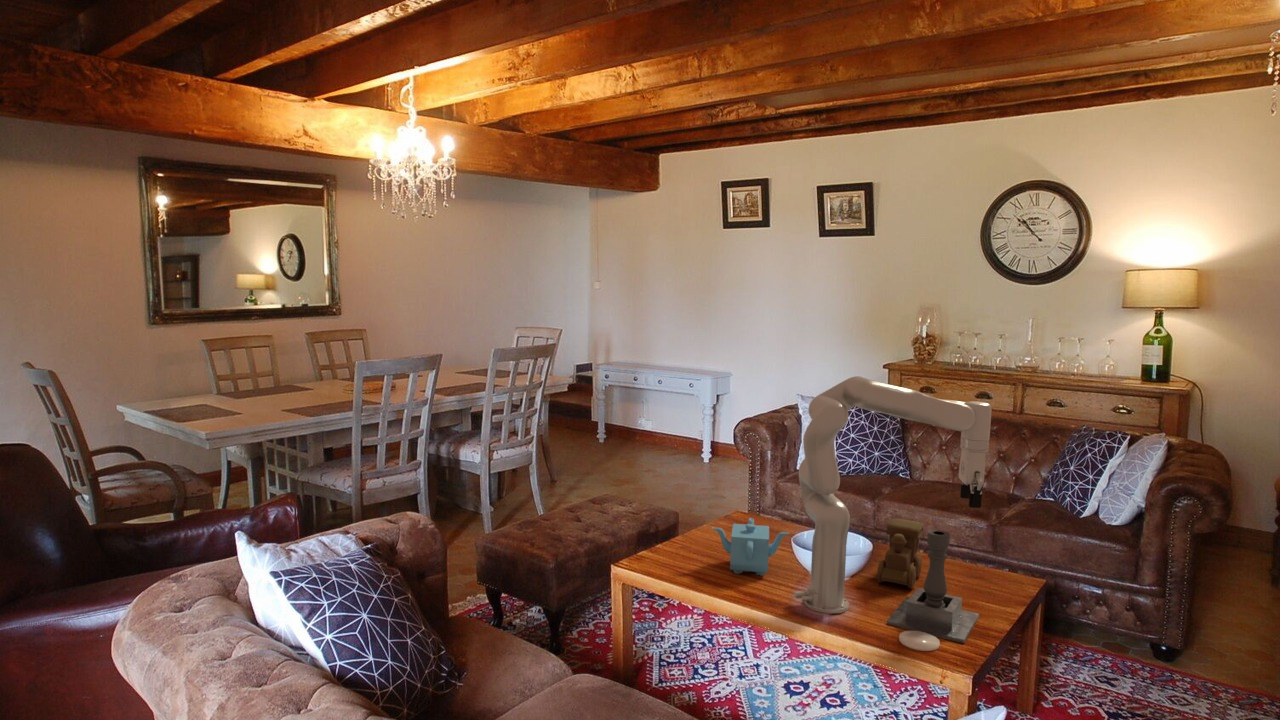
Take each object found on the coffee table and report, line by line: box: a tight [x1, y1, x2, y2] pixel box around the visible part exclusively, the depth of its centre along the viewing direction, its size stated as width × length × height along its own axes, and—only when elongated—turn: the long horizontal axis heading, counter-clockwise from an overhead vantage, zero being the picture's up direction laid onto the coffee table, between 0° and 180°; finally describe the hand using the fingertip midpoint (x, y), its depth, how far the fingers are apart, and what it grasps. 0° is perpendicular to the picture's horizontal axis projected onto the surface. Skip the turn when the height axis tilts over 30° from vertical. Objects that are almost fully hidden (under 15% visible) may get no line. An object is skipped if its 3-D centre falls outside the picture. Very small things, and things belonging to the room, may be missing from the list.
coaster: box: [898, 630, 941, 652], centre depth 205 cm, size 10×10×1 cm
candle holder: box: [923, 529, 951, 608], centre depth 217 cm, size 6×6×25 cm
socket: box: [886, 587, 980, 644], centre depth 218 cm, size 20×20×6 cm
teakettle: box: [711, 517, 790, 576], centre depth 255 cm, size 19×19×15 cm
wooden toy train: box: [876, 518, 924, 589], centre depth 248 cm, size 20×11×17 cm, turn 151°
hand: (970, 502), depth 228 cm, fingers open, 9 cm apart
